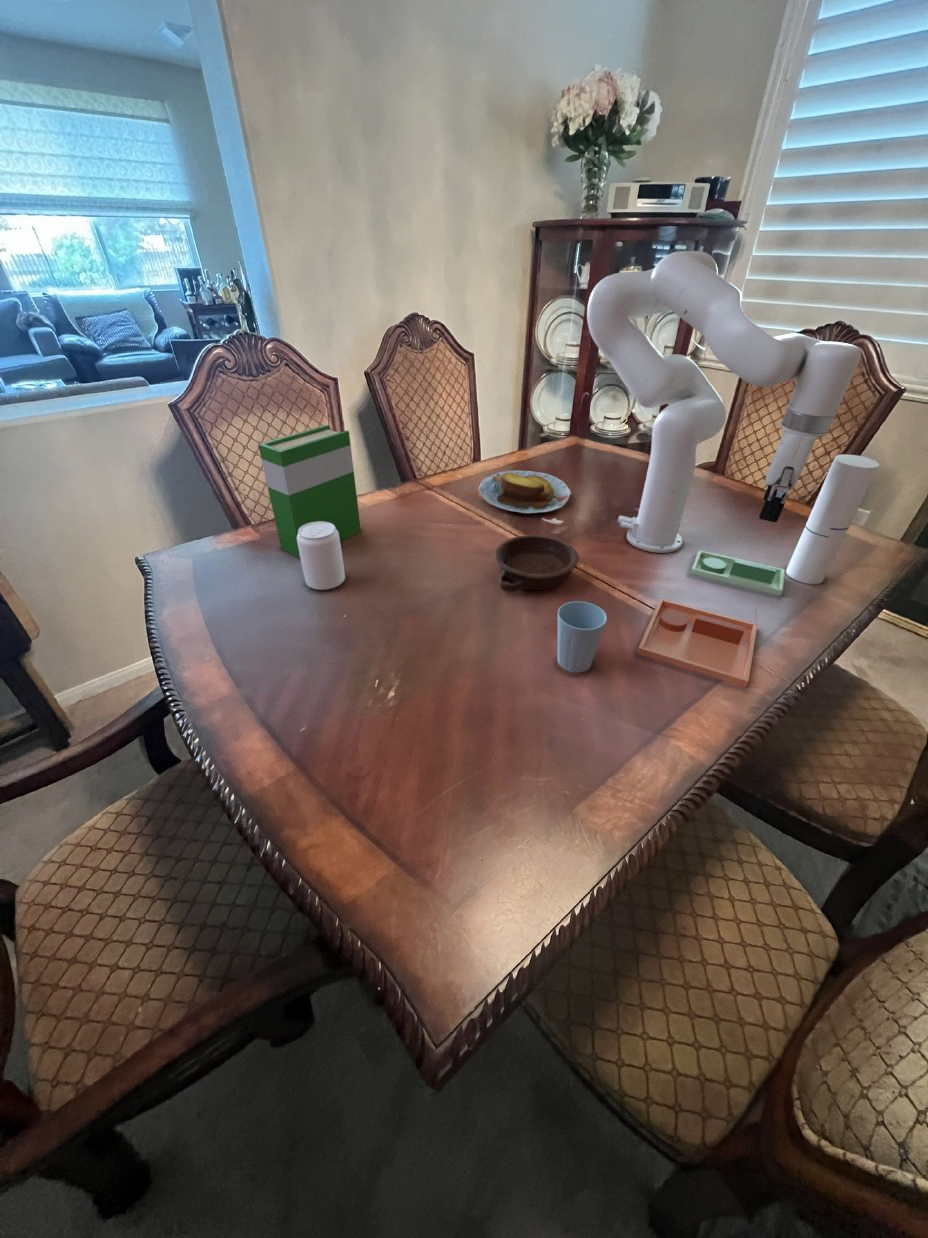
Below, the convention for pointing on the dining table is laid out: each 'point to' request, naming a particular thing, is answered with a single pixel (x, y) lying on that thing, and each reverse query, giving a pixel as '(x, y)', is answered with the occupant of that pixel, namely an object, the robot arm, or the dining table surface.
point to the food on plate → (524, 491)
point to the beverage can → (321, 555)
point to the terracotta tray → (700, 645)
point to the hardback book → (311, 483)
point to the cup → (579, 634)
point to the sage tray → (725, 577)
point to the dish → (534, 562)
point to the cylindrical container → (831, 517)
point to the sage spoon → (741, 569)
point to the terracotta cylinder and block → (703, 626)
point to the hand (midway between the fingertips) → (769, 510)
